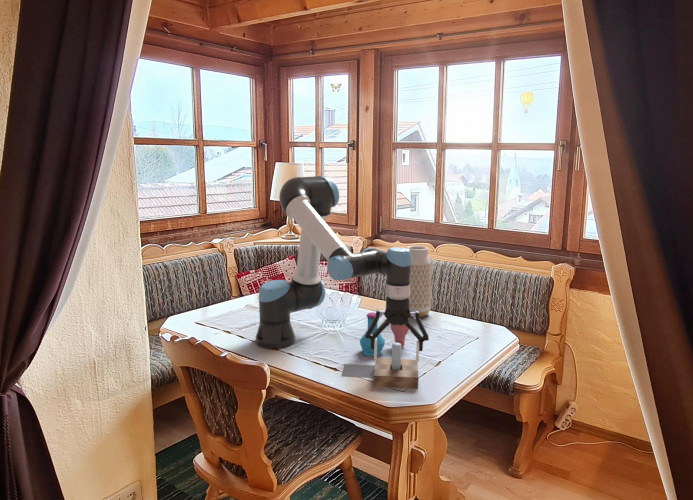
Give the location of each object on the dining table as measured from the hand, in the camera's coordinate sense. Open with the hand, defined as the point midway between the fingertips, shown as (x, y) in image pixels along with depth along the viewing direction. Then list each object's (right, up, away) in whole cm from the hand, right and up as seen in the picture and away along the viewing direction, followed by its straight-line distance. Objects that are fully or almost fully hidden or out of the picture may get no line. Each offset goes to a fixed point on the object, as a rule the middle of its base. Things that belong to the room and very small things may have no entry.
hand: (396, 359), depth 173 cm
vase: (+15, +6, +67) cm, 69 cm away
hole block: (0, -7, +1) cm, 7 cm away
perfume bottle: (-7, -2, +23) cm, 24 cm away
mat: (-11, -6, +6) cm, 14 cm away
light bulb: (+4, -1, +29) cm, 29 cm away
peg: (0, -7, +1) cm, 7 cm away
